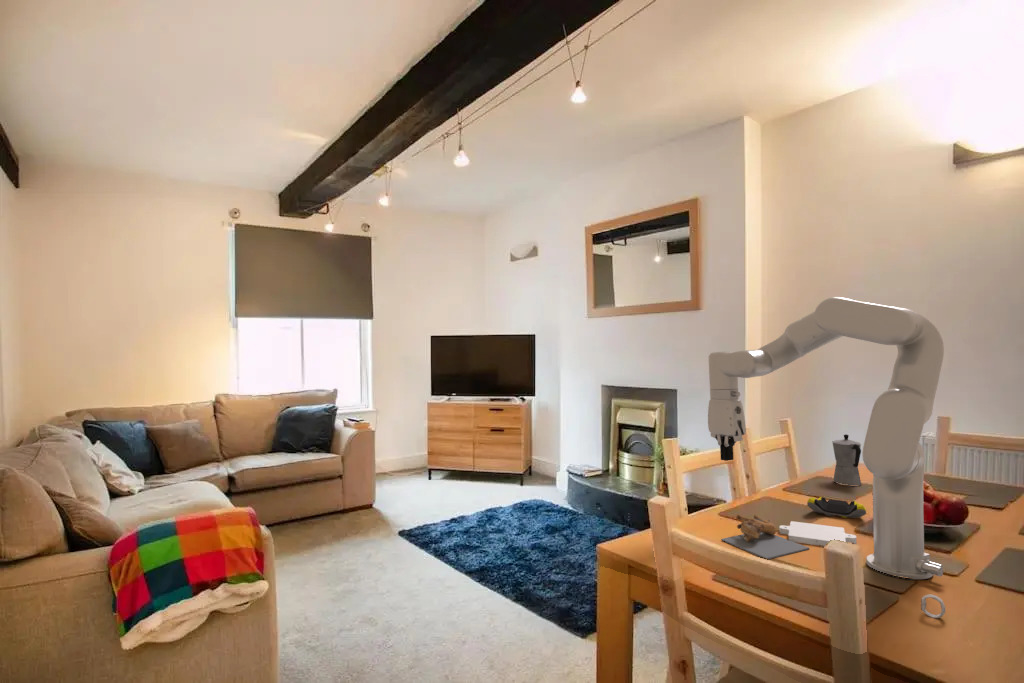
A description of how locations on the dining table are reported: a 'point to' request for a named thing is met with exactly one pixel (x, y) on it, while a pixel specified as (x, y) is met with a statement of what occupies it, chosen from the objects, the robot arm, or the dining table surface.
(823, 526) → the mounting plate
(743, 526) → the lion figurine
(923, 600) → the grey ring
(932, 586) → the dining table surface
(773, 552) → the mat
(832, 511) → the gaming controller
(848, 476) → the coffeepot
